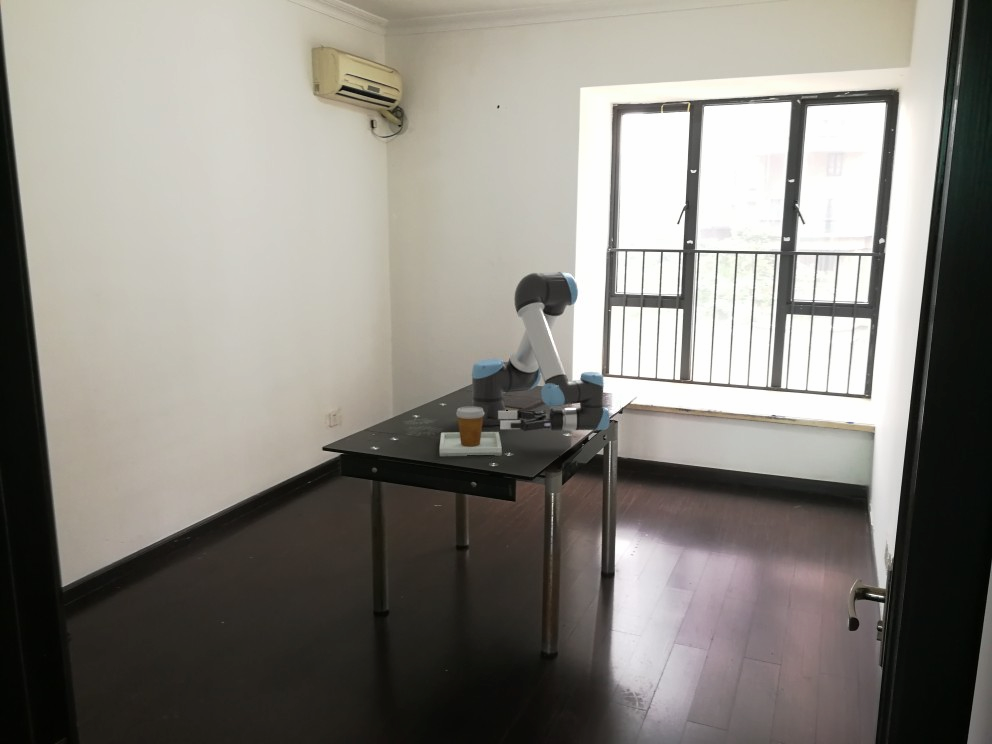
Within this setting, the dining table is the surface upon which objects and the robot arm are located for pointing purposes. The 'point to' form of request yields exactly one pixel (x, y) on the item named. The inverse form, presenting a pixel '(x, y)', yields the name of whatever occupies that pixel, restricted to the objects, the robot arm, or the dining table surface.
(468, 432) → the disposable coffee cup
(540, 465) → the dining table surface
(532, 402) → the hardcover book
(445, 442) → the tray
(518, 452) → the dining table surface
